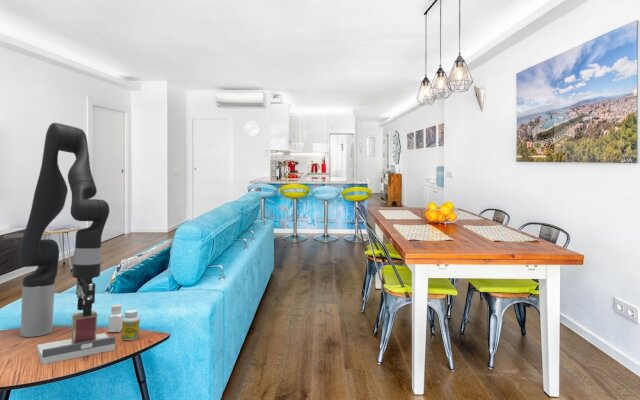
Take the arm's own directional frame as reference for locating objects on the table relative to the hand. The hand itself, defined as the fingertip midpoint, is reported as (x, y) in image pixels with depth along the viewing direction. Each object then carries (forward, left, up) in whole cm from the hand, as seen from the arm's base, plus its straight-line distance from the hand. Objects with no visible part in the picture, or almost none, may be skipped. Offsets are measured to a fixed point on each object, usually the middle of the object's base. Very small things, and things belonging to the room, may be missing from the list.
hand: (84, 312), depth 121 cm
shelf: (-2, -1, -12) cm, 13 cm away
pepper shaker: (-15, +13, -13) cm, 23 cm away
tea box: (0, 0, -10) cm, 10 cm away
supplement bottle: (-4, +15, -13) cm, 20 cm away
